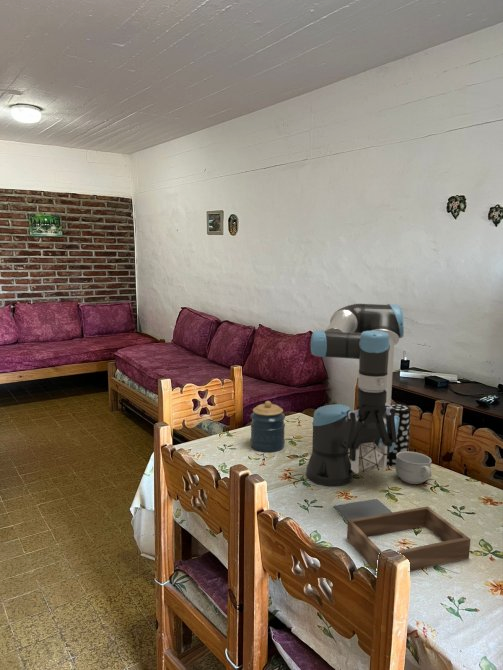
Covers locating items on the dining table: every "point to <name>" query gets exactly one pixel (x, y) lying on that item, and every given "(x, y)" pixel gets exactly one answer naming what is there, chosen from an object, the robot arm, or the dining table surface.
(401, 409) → the white-spotted black cylinder
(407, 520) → the rectangular frame
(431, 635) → the dining table surface
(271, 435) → the canister
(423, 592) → the dining table surface
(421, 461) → the teacup
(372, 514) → the pad
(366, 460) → the game die
